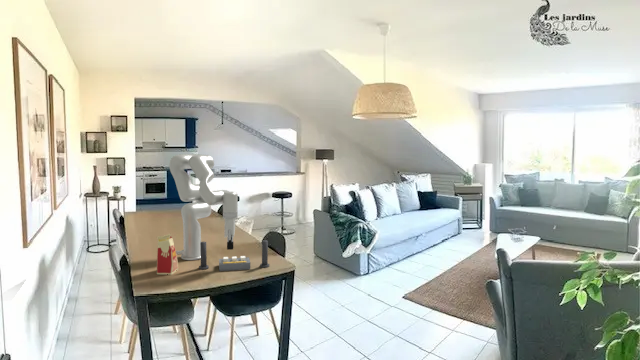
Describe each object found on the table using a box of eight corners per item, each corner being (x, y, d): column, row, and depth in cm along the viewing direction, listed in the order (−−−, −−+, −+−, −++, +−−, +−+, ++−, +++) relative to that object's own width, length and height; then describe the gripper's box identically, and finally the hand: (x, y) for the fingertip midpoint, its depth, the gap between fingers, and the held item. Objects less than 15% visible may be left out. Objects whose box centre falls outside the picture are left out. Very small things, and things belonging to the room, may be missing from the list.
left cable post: (198, 269, 208) (197, 243, 207) (199, 266, 213) (199, 241, 212) (207, 269, 209) (207, 243, 207) (209, 266, 214) (208, 241, 212)
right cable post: (260, 267, 213) (260, 242, 212) (260, 265, 218) (260, 239, 216) (269, 267, 214) (269, 242, 212) (269, 264, 219) (269, 239, 217)
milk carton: (178, 269, 209) (177, 231, 207) (172, 274, 200) (171, 235, 198) (160, 268, 209) (159, 231, 207) (153, 274, 199) (153, 235, 198)
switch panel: (219, 271, 207) (219, 261, 206) (219, 266, 216) (219, 256, 216) (250, 270, 211) (250, 259, 210) (248, 264, 220) (248, 254, 220)
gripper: (224, 212, 217) (224, 245, 219) (221, 217, 202) (221, 253, 204) (238, 212, 218) (238, 245, 220) (236, 217, 204) (236, 252, 205)
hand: (230, 249), depth 212 cm, fingers closed
